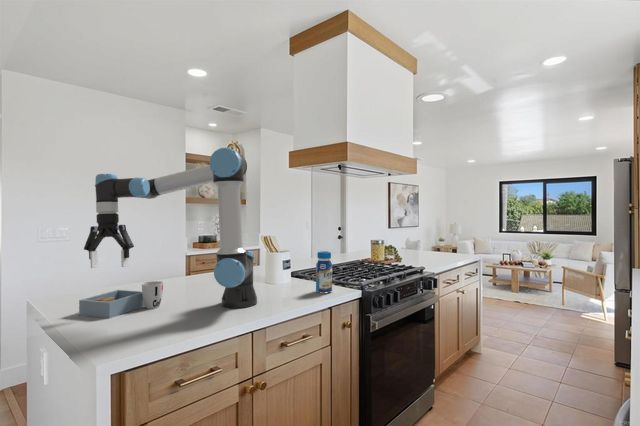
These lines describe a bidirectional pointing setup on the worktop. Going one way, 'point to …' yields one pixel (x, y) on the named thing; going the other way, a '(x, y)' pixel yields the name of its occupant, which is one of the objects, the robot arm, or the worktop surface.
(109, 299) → the walnut cube
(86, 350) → the worktop surface
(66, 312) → the worktop surface
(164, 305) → the worktop surface
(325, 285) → the beverage bottle
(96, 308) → the tote
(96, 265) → the robot arm
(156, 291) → the cup
